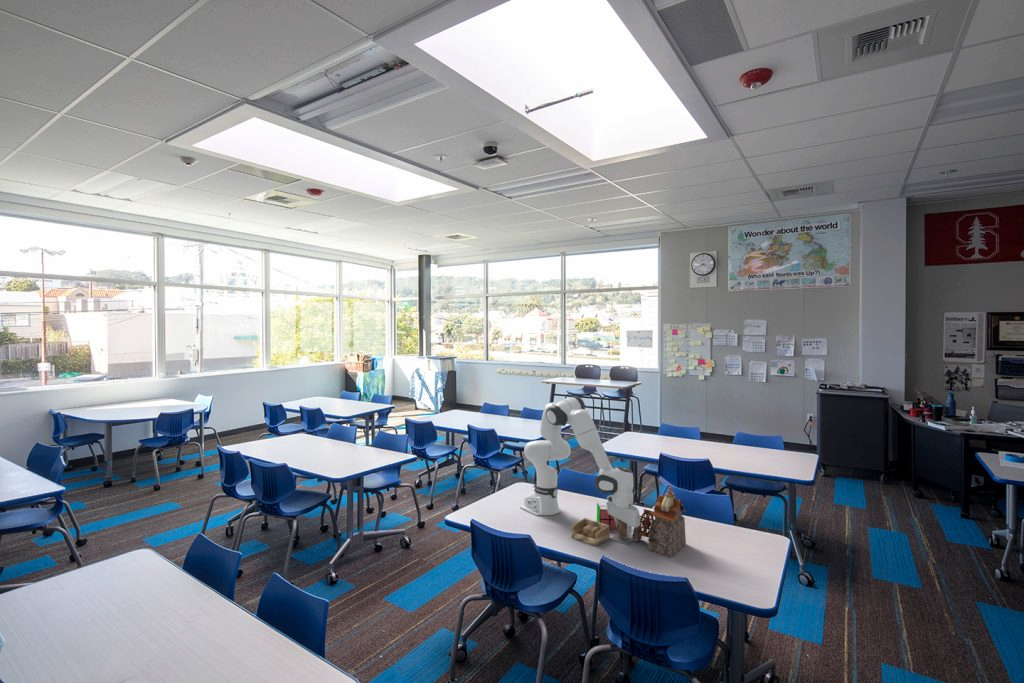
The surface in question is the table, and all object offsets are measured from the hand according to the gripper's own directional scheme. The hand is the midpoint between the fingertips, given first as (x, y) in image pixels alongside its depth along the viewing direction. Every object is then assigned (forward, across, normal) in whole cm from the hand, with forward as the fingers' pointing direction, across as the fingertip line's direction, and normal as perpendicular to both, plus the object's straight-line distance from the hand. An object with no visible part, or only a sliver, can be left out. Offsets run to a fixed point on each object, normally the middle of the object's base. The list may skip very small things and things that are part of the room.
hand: (622, 529), depth 231 cm
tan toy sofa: (+5, +8, +13) cm, 16 cm away
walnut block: (+3, 0, 0) cm, 3 cm away
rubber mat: (+5, 0, 0) cm, 5 cm away
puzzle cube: (+5, +16, -4) cm, 18 cm away
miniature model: (+5, -11, -11) cm, 16 cm away
